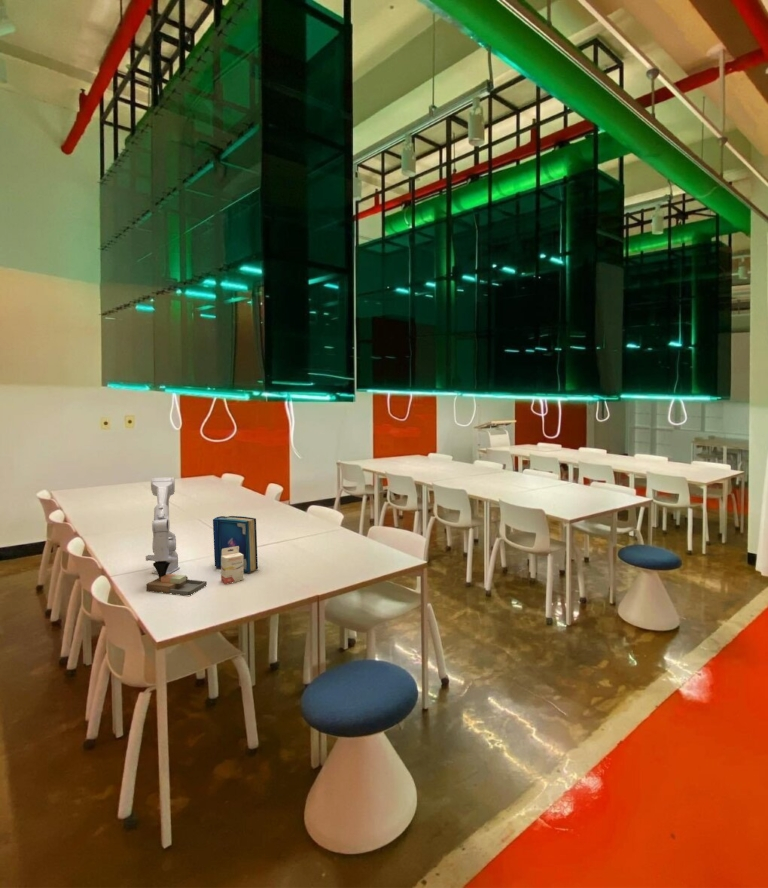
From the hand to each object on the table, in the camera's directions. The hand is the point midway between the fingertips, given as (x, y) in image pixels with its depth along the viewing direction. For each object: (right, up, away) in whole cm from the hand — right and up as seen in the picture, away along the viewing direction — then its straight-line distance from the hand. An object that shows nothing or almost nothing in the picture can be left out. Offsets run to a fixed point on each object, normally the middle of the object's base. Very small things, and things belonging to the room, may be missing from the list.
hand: (162, 578), depth 208 cm
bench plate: (+2, -4, 0) cm, 4 cm away
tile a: (+3, -1, -1) cm, 3 cm away
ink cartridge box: (+28, -4, +8) cm, 29 cm away
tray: (+12, -4, -3) cm, 13 cm away
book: (+24, -2, +23) cm, 34 cm away
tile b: (+8, -1, -2) cm, 8 cm away
